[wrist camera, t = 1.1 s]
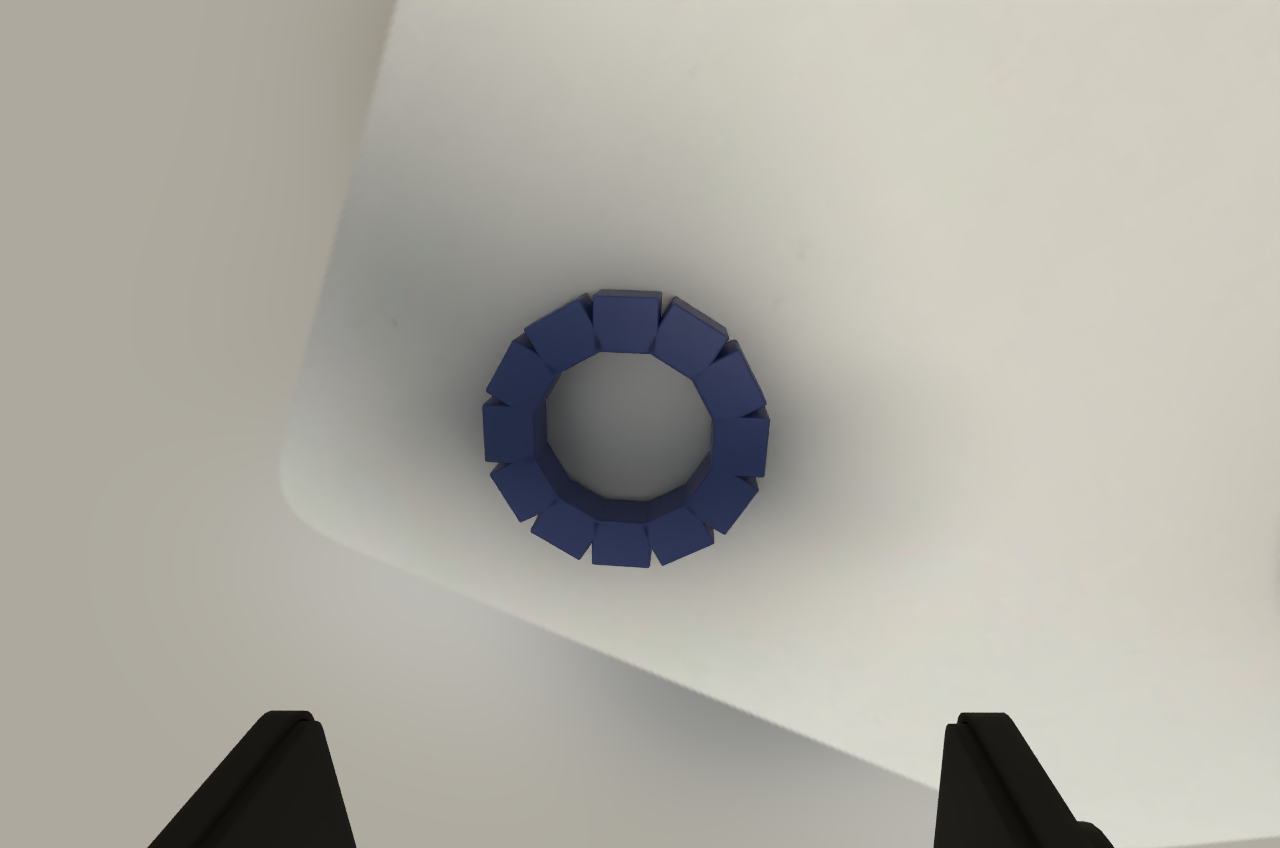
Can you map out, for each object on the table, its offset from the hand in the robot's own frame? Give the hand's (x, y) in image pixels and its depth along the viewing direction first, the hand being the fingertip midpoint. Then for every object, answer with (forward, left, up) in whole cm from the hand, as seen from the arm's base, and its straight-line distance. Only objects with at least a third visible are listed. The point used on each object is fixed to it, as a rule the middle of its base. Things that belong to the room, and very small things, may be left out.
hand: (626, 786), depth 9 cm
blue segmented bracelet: (-2, 0, -14) cm, 14 cm away
